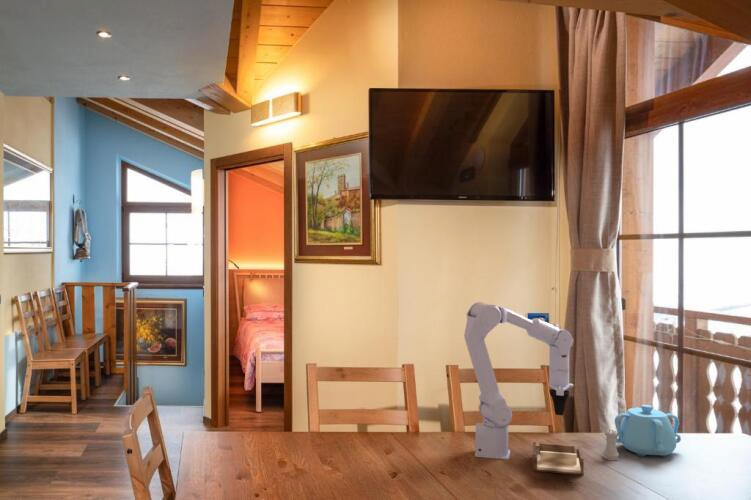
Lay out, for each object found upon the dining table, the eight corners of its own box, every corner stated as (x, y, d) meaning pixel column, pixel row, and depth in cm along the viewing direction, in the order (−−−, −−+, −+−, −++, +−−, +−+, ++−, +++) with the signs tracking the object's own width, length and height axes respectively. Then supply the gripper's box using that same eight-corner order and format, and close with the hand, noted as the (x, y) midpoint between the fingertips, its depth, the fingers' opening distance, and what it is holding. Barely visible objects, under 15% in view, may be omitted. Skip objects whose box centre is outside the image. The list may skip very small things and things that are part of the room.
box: (532, 471, 166) (532, 454, 166) (532, 458, 176) (532, 442, 176) (583, 476, 162) (583, 458, 162) (580, 462, 173) (580, 445, 173)
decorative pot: (688, 453, 181) (688, 407, 181) (659, 464, 172) (659, 415, 172) (636, 440, 194) (636, 396, 194) (606, 449, 185) (606, 403, 185)
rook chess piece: (620, 462, 174) (620, 433, 174) (604, 461, 174) (604, 432, 174) (617, 457, 178) (617, 429, 178) (601, 456, 179) (601, 428, 179)
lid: (537, 469, 157) (537, 457, 157) (537, 456, 167) (537, 445, 167) (580, 473, 154) (580, 460, 154) (578, 460, 164) (578, 448, 164)
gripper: (574, 374, 177) (574, 421, 177) (572, 365, 191) (572, 409, 191) (549, 372, 178) (548, 420, 178) (548, 364, 192) (548, 407, 192)
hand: (559, 414), depth 185 cm, fingers closed
